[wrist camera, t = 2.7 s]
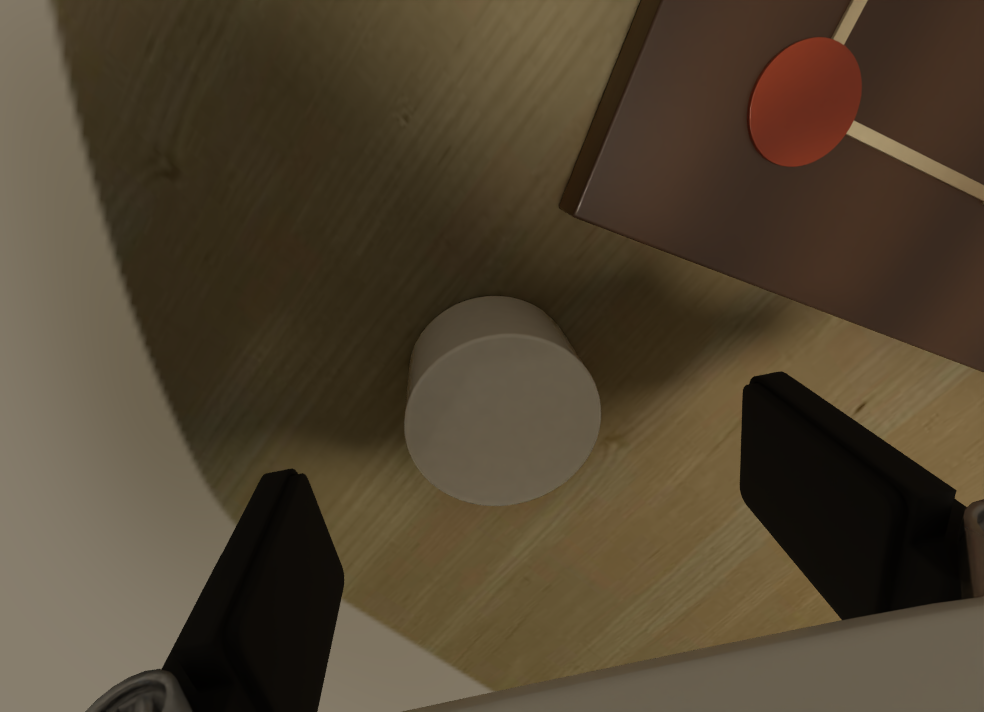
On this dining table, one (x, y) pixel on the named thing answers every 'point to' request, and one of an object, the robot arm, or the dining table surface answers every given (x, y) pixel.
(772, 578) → the dining table surface
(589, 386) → the beige round puck
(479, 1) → the dining table surface
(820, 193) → the board
